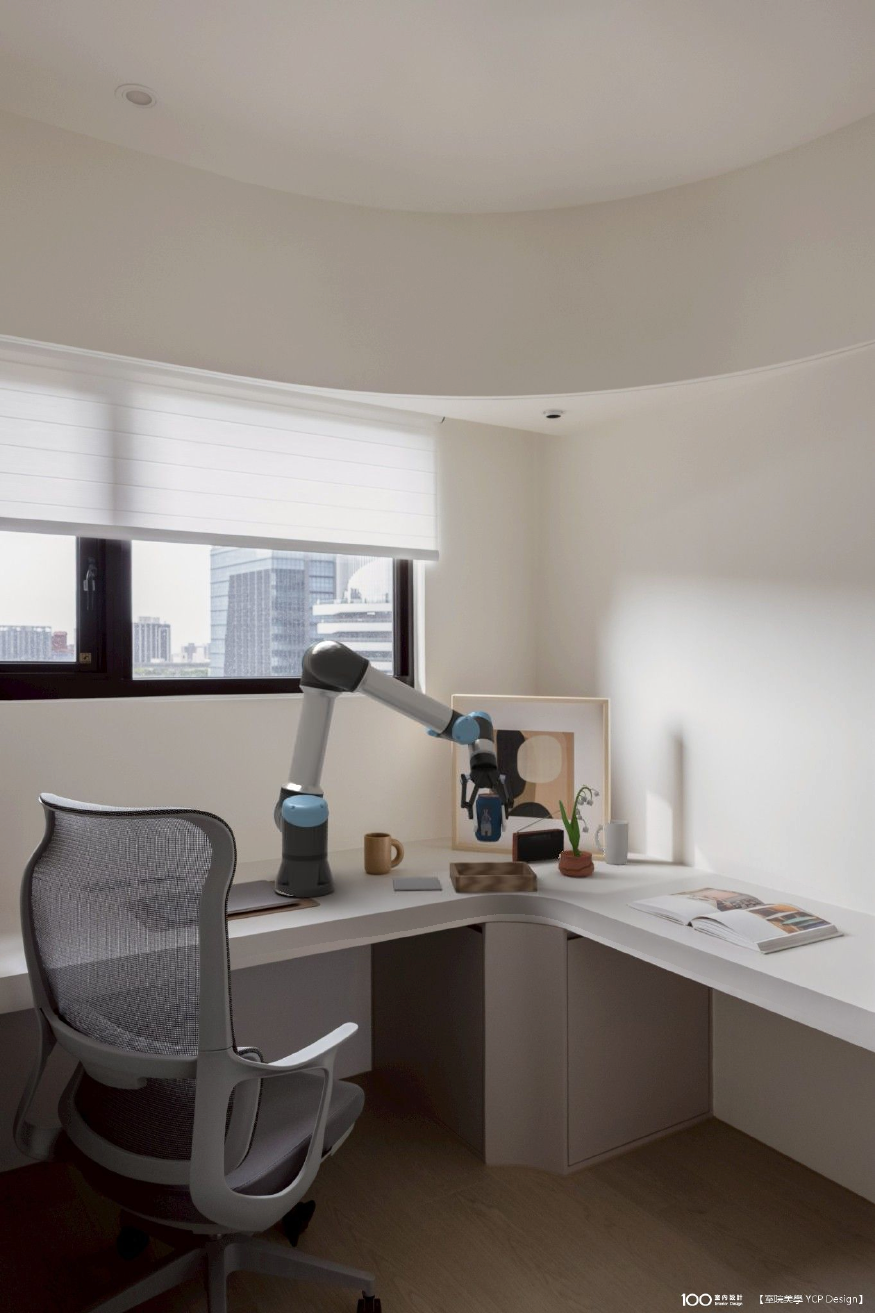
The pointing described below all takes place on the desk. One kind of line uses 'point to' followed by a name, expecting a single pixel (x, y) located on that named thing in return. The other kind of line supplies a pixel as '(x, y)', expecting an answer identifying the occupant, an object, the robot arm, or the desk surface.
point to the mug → (614, 841)
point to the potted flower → (576, 841)
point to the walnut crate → (492, 877)
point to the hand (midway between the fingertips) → (490, 828)
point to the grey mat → (416, 883)
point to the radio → (537, 845)
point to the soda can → (488, 817)
